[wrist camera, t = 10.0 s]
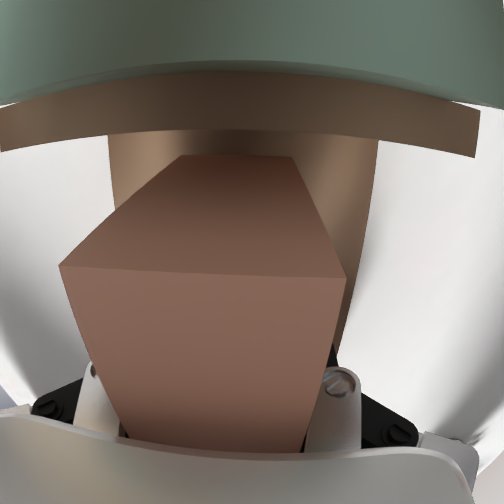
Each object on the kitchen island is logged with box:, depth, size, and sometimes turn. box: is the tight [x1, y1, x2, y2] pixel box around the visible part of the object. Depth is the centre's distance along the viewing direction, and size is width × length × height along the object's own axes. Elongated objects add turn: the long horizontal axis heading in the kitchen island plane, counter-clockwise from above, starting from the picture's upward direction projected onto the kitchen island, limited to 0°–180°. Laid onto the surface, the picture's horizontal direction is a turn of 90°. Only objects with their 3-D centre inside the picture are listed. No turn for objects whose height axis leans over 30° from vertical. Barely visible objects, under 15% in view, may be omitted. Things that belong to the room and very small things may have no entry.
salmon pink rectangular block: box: [58, 155, 347, 453], centre depth 10 cm, size 4×11×8 cm, turn 179°
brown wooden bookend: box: [0, 0, 504, 357], centre depth 11 cm, size 12×22×10 cm, turn 179°
